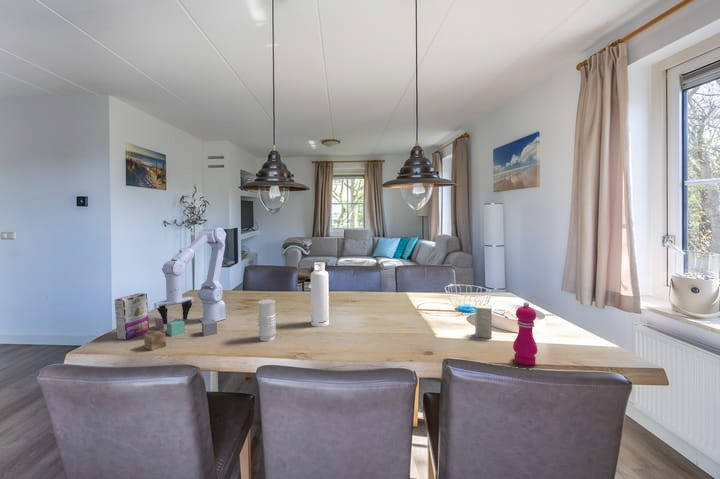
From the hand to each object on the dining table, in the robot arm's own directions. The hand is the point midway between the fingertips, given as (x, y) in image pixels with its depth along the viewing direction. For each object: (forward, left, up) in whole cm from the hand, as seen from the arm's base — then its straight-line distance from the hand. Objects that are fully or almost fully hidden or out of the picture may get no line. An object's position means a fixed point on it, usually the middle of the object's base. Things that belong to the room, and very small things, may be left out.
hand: (175, 321), depth 137 cm
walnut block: (+11, +10, -5) cm, 16 cm away
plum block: (0, -12, -5) cm, 13 cm away
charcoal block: (-9, +11, -5) cm, 15 cm away
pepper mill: (-63, +120, -5) cm, 136 cm away
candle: (-21, +35, -5) cm, 41 cm away
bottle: (-47, +38, -5) cm, 61 cm away
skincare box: (-78, +101, -5) cm, 128 cm away
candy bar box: (+12, -12, -5) cm, 18 cm away
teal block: (0, 0, -5) cm, 5 cm away
